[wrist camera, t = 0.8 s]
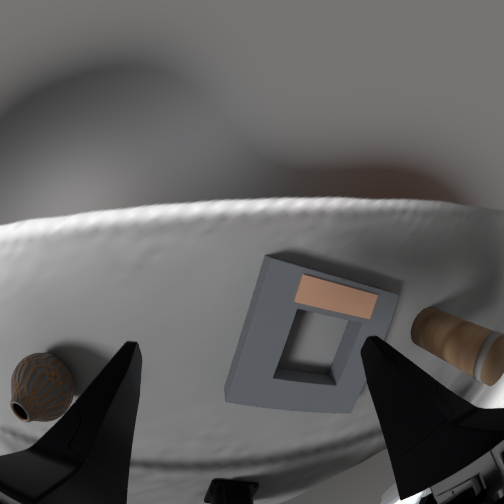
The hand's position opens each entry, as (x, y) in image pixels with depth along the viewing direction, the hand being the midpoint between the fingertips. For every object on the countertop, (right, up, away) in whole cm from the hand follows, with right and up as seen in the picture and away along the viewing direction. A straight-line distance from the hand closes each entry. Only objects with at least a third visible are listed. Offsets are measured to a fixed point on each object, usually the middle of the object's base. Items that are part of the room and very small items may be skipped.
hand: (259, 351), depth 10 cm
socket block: (+6, -5, +17) cm, 18 cm away
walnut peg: (+21, -6, +19) cm, 29 cm away
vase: (-22, -10, +13) cm, 27 cm away
